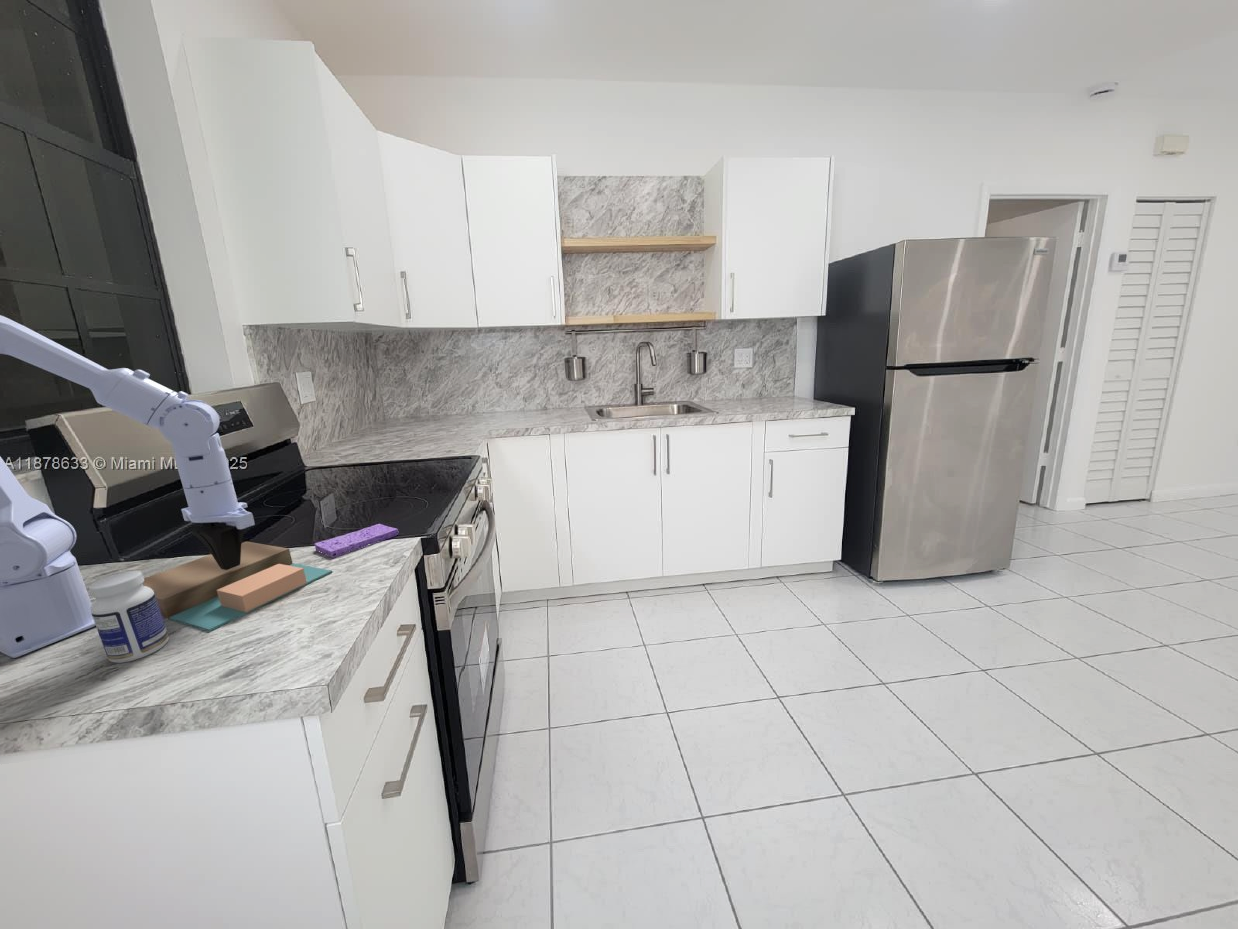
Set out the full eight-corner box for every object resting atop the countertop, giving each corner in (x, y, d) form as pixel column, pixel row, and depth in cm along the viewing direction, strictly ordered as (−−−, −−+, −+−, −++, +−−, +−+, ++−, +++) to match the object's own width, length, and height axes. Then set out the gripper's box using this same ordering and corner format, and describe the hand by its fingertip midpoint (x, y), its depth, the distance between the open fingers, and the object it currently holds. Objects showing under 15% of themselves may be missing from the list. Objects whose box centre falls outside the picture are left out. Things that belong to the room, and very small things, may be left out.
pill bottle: (167, 632, 67) (145, 564, 65) (172, 648, 63) (149, 576, 61) (108, 652, 63) (82, 580, 61) (109, 671, 59) (81, 595, 57)
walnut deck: (168, 618, 71) (162, 599, 70) (124, 605, 75) (118, 587, 75) (292, 564, 86) (289, 548, 86) (250, 556, 91) (246, 541, 91)
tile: (216, 590, 72) (220, 605, 73) (241, 596, 70) (246, 612, 70) (278, 563, 80) (282, 577, 81) (303, 568, 78) (306, 583, 78)
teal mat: (209, 631, 67) (209, 629, 66) (169, 619, 70) (169, 617, 70) (332, 572, 82) (332, 570, 82) (294, 565, 86) (293, 563, 86)
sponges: (316, 553, 92) (313, 543, 92) (381, 530, 102) (380, 522, 102) (332, 561, 88) (330, 551, 88) (400, 537, 98) (398, 528, 97)
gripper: (266, 478, 75) (286, 561, 78) (209, 473, 81) (230, 551, 84) (213, 492, 69) (238, 582, 72) (156, 485, 75) (181, 569, 78)
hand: (230, 566), depth 78 cm, fingers closed
